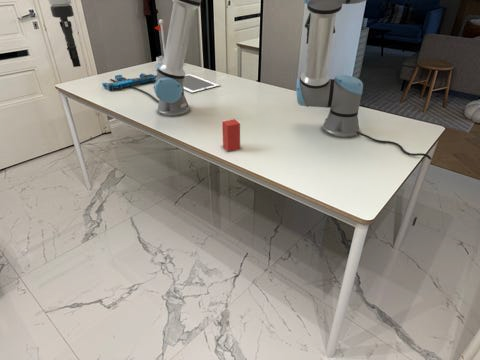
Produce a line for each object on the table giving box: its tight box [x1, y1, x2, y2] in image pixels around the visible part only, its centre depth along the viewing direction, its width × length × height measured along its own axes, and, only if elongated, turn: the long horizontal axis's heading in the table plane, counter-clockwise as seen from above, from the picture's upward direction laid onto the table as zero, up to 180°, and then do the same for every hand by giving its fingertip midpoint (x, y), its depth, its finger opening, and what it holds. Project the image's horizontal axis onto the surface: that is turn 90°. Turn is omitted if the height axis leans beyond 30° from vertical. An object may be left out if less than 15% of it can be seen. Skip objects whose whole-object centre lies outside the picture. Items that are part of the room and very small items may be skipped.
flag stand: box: [154, 18, 166, 65], centre depth 234 cm, size 13×13×30 cm
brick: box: [221, 118, 241, 152], centre depth 134 cm, size 5×5×11 cm
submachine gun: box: [101, 73, 157, 91], centre depth 209 cm, size 34×4×25 cm
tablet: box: [183, 73, 221, 94], centre depth 207 cm, size 32×20×1 cm, turn 41°
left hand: (75, 62), depth 140 cm, fingers open, 13 cm apart
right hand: (317, 46), depth 167 cm, fingers open, 13 cm apart
